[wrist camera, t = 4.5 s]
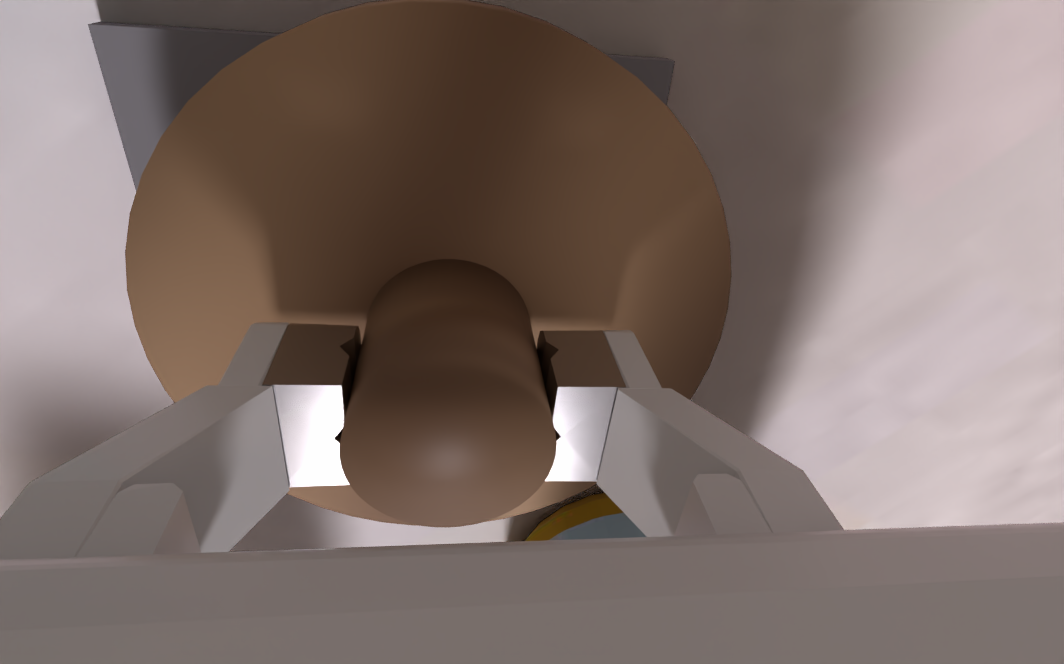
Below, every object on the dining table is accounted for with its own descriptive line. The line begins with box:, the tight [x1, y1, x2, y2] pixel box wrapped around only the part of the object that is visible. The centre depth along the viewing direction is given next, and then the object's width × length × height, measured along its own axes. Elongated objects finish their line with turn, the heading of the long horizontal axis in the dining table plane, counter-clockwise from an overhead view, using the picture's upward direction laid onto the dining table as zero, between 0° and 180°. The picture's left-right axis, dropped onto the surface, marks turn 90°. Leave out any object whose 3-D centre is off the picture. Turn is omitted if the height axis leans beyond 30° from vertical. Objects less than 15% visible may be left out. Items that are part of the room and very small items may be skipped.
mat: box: [88, 22, 675, 192], centre depth 13 cm, size 10×10×1 cm
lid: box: [125, 0, 731, 527], centre depth 9 cm, size 10×10×4 cm
